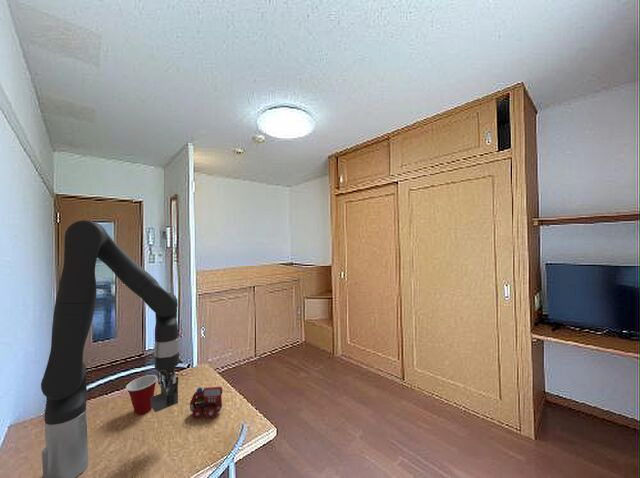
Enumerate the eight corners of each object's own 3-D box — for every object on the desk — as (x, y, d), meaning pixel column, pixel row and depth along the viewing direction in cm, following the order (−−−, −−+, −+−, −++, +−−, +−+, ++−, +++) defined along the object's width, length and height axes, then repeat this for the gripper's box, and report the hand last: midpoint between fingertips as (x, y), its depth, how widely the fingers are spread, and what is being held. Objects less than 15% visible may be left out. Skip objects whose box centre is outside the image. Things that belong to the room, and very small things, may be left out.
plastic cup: (125, 409, 115) (124, 380, 115) (156, 399, 121) (155, 372, 121) (127, 423, 106) (126, 391, 106) (160, 412, 113) (159, 382, 113)
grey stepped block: (155, 412, 92) (155, 394, 92) (150, 406, 96) (150, 388, 96) (178, 403, 97) (177, 385, 97) (172, 397, 101) (172, 380, 101)
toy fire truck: (195, 408, 115) (194, 382, 115) (225, 407, 115) (224, 382, 115) (187, 419, 108) (186, 392, 108) (219, 418, 108) (218, 391, 108)
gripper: (148, 349, 99) (149, 398, 100) (161, 361, 90) (162, 415, 90) (171, 343, 105) (171, 389, 105) (186, 354, 95) (187, 405, 95)
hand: (167, 401), depth 97 cm, fingers closed on grey stepped block, 5 cm apart
